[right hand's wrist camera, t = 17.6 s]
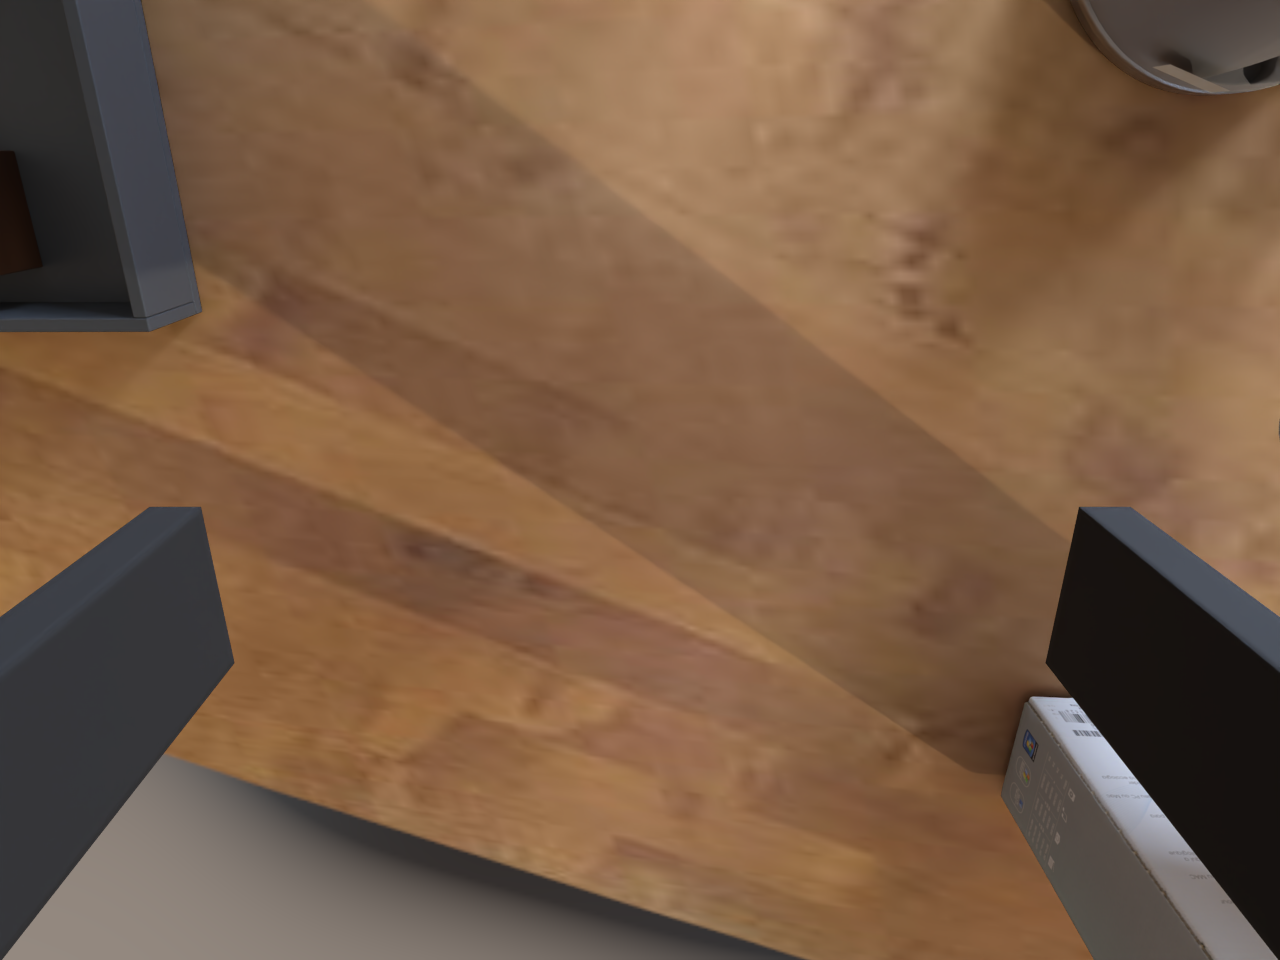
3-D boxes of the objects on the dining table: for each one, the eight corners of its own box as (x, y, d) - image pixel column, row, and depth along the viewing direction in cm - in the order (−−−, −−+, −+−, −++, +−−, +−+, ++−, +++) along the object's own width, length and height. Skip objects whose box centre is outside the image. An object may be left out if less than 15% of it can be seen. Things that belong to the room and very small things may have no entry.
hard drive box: (995, 796, 51) (1200, 1172, 32) (1022, 691, 48) (1265, 1038, 29) (1247, 806, 51) (1595, 1184, 32) (1290, 702, 48) (1698, 1052, 29)
